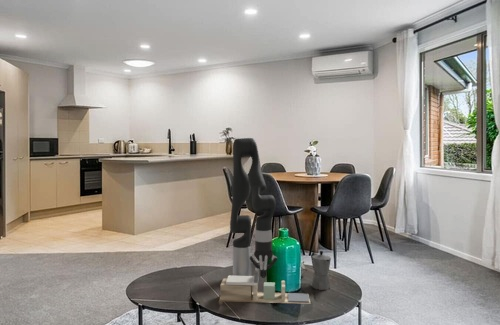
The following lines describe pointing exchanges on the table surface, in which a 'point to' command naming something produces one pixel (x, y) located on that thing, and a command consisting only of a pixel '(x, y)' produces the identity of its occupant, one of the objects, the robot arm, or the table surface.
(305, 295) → the slate pad
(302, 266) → the game die
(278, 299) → the puzzle board
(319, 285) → the coffeepot
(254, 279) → the slide cover
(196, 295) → the table surface
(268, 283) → the sage block
